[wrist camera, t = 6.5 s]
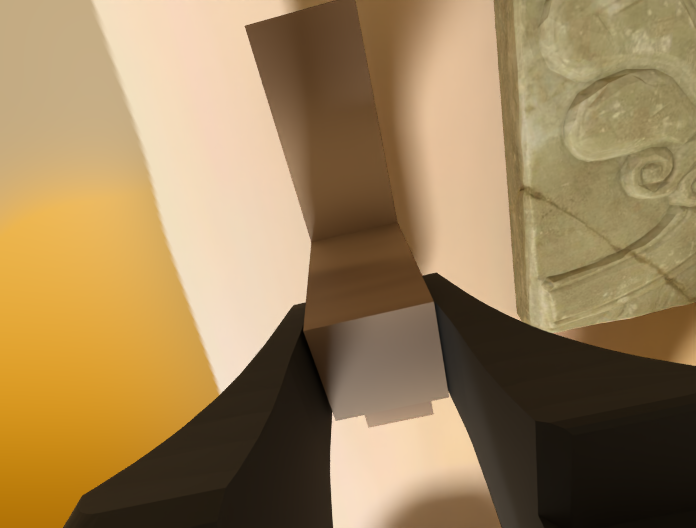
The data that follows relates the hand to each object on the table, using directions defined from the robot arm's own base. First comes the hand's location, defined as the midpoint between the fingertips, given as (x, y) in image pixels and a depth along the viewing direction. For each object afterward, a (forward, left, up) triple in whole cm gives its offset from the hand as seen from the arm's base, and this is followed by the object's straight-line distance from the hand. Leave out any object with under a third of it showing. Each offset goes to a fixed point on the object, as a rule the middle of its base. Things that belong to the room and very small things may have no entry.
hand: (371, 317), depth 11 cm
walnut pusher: (0, 0, -6) cm, 6 cm away
